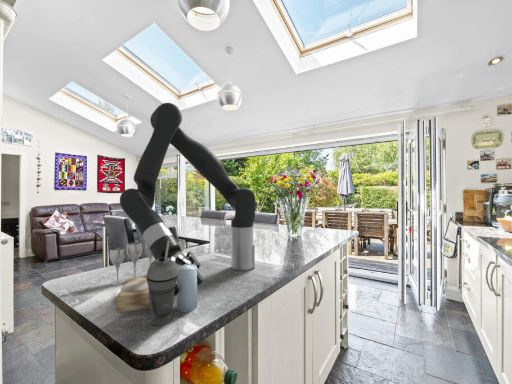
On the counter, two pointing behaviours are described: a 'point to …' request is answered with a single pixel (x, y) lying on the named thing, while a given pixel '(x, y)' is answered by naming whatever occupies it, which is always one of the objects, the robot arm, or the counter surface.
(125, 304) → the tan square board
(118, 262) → the goblet set
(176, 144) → the robot arm
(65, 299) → the counter surface
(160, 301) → the beverage cup
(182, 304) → the pale blue domed cylinder
